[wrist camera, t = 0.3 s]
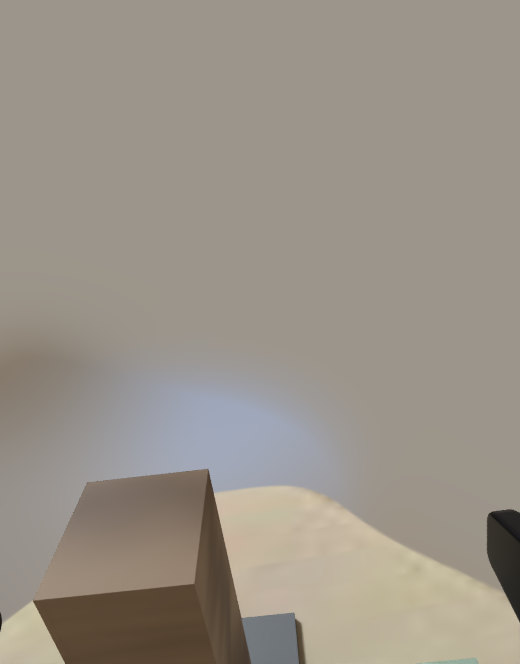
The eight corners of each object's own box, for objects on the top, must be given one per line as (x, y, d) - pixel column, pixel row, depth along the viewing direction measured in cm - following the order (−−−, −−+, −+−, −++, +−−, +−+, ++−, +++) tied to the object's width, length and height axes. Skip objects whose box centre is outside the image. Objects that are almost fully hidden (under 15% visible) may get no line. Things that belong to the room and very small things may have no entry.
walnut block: (251, 792, 17) (194, 584, 12) (136, 802, 17) (32, 600, 12) (251, 664, 21) (208, 468, 16) (158, 673, 21) (87, 482, 16)
